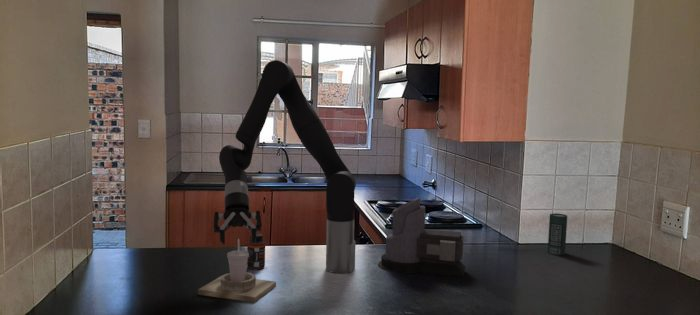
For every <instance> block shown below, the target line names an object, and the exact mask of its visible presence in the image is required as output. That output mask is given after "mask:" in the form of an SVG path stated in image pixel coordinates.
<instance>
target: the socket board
mask: <svg viewBox="0 0 700 315" xmlns="http://www.w3.org/2000/svg"><path fill="white" fill-rule="evenodd" d="M276 287H277V281H274V280H268V279H267V280H266V279H258V278H256V274H254V273H252V272H247V271H246V276H245V281H240V282H233V281H231V277H230V272H229V273H224V274H223V275H220V276H219V277H216V279H214V280H212V281H210V282H209V283H207V284H205V285H203V286H202V287H200V288H198V289H197V295H198V296H205V297H214V298H220V299H227V300H236V301H242V302H243V301H244V302H248V303H249V302H250V303H256V302H258V301H259V300H260V299H262V298H263V297H264V296H265V295H267V294H268V293H270V291H272V290H273V289H275V288H276Z"/></svg>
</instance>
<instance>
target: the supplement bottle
mask: <svg viewBox="0 0 700 315" xmlns="http://www.w3.org/2000/svg"><path fill="white" fill-rule="evenodd" d="M249 238H250V240H248V241H247V245H246V246H247V248H246V249H247V250H246V251H247V252H249V257H248V261H247V268H248V270H255V271H257V270H263V269H264V268H265V267H266V242H265V241H264V239H263V234H262V233H256V241H254V243H251V234H250V236H249Z"/></svg>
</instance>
